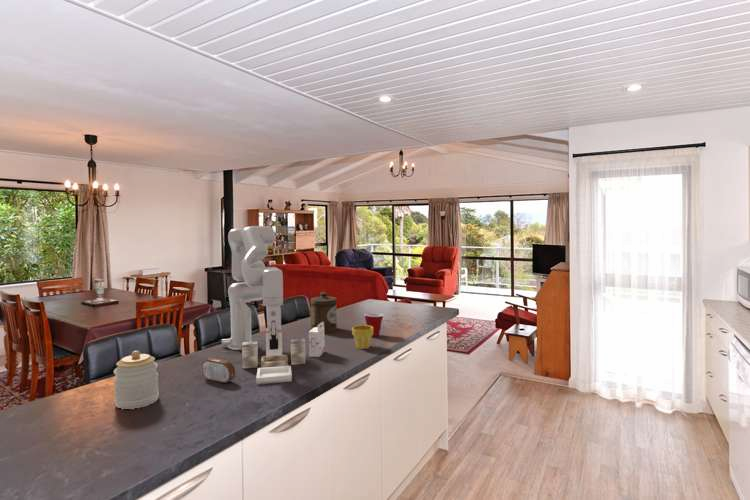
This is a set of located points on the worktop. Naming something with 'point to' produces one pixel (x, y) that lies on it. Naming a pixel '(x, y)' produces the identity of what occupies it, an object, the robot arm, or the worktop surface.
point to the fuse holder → (272, 361)
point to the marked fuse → (279, 337)
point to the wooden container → (323, 312)
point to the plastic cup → (374, 322)
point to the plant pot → (362, 336)
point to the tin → (218, 370)
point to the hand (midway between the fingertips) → (274, 347)
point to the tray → (274, 375)
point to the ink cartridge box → (316, 341)
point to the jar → (136, 381)
